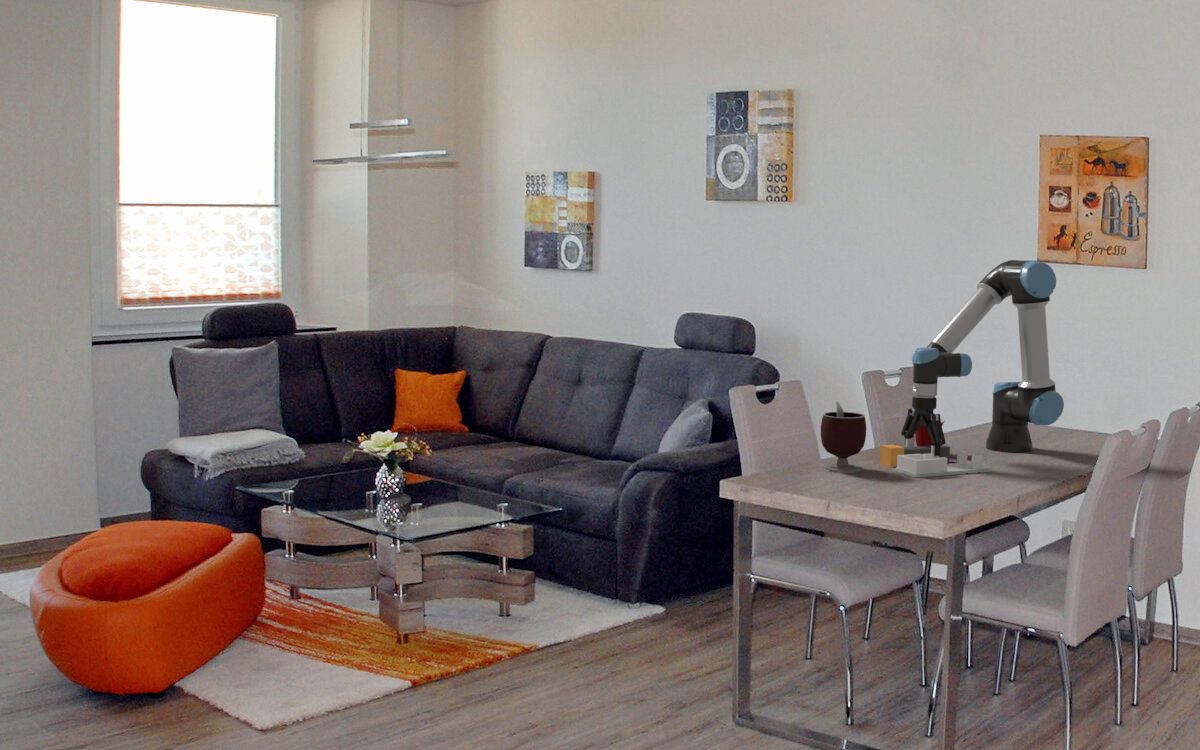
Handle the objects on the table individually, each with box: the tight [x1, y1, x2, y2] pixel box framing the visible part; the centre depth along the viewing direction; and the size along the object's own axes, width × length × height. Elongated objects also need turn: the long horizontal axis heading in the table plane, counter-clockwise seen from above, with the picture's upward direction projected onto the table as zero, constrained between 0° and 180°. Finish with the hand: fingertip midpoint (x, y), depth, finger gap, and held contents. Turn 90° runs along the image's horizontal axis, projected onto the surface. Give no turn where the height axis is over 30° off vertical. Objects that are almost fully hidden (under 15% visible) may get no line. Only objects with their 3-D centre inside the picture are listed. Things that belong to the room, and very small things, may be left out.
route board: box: [894, 450, 991, 478], centre depth 388 cm, size 27×11×5 cm, turn 111°
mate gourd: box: [820, 401, 867, 474], centre depth 390 cm, size 16×14×20 cm
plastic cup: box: [914, 417, 946, 447], centre depth 419 cm, size 11×11×12 cm
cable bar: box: [879, 444, 951, 468], centre depth 401 cm, size 23×6×6 cm, turn 111°
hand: (921, 462), depth 402 cm, fingers open, 13 cm apart
